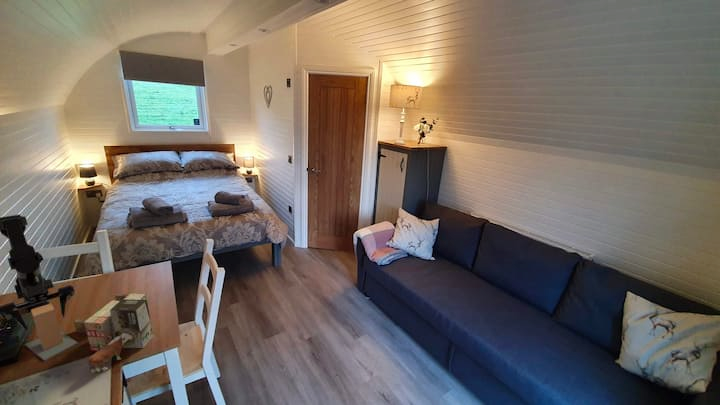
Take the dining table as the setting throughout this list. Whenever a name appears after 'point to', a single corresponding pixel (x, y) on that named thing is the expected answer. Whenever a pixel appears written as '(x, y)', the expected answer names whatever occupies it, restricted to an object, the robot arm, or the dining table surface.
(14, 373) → the dining table surface
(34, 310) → the tan block
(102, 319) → the printed cardboard box
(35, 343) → the slate mat
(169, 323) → the dining table surface
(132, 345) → the coffee box
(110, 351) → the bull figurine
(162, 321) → the dining table surface
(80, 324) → the beige u-shaped block
